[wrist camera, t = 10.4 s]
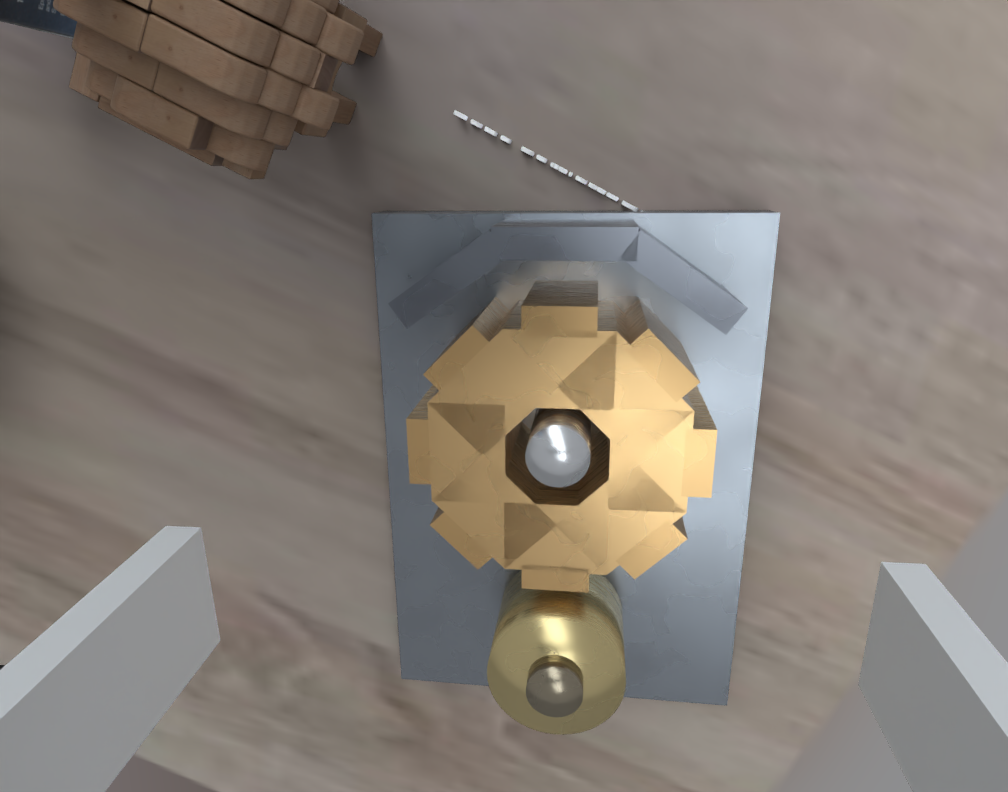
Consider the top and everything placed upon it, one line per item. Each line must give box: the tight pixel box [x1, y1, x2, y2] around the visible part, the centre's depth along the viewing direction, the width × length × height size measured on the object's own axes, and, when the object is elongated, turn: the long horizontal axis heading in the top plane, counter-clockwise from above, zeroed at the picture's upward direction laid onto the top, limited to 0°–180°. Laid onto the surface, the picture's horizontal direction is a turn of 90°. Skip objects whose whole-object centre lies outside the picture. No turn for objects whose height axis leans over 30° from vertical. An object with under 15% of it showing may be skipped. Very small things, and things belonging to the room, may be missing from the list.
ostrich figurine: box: [53, 0, 642, 211], centre depth 17 cm, size 17×7×18 cm, turn 64°
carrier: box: [372, 210, 780, 735], centre depth 25 cm, size 20×14×6 cm
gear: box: [406, 280, 717, 593], centre depth 24 cm, size 9×9×5 cm
